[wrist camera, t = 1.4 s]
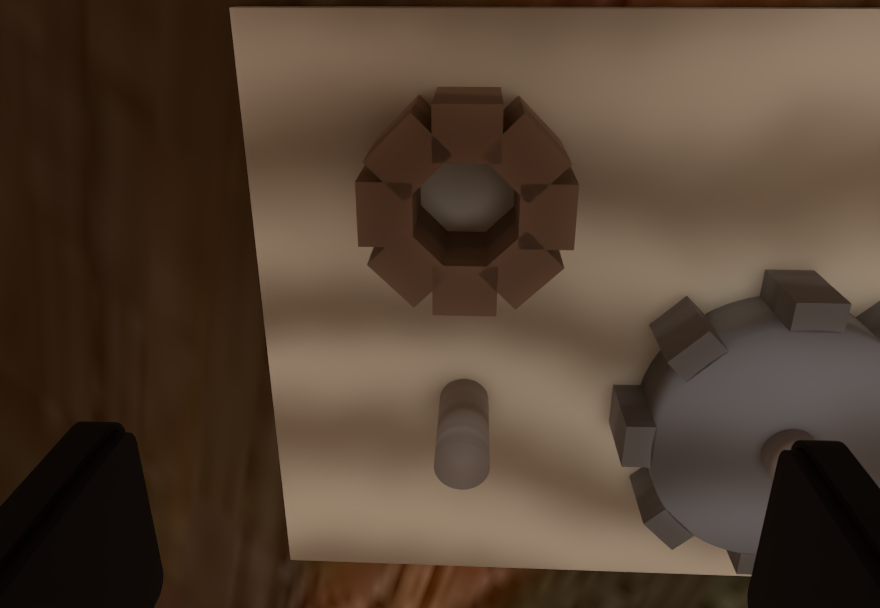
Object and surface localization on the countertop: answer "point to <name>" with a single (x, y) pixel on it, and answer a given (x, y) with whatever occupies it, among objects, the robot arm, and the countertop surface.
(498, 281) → the walnut gear
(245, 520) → the countertop surface
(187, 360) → the countertop surface
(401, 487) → the gear board
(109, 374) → the countertop surface
